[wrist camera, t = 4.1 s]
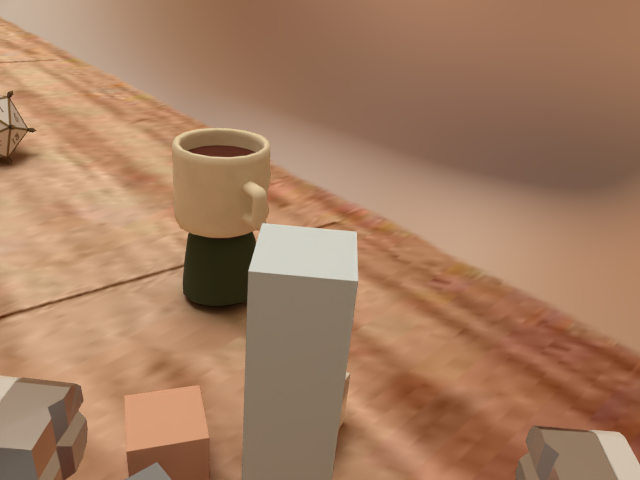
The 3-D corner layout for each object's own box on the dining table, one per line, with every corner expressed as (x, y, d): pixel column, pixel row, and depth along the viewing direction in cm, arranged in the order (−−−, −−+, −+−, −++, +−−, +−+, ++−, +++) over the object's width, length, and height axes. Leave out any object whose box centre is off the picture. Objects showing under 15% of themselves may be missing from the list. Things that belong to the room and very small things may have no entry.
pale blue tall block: (321, 560, 29) (358, 281, 21) (239, 552, 29) (248, 271, 21) (324, 491, 32) (356, 231, 25) (251, 485, 32) (262, 223, 25)
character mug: (295, 311, 47) (307, 157, 41) (218, 341, 43) (218, 175, 37) (224, 254, 55) (225, 116, 49) (151, 275, 50) (143, 127, 44)
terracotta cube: (131, 507, 31) (126, 451, 29) (129, 448, 34) (124, 395, 32) (209, 491, 32) (209, 437, 30) (200, 436, 35) (199, 385, 33)
